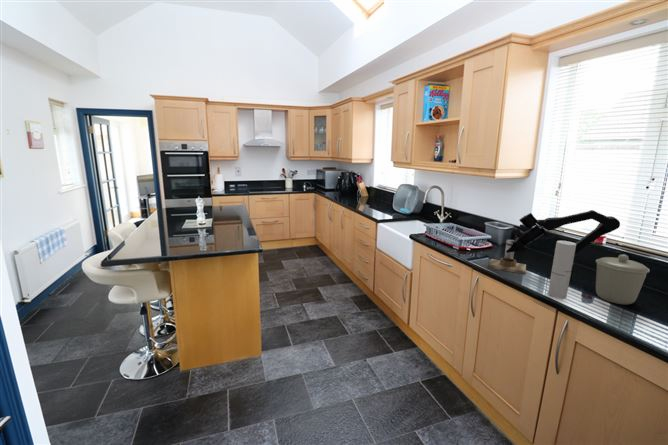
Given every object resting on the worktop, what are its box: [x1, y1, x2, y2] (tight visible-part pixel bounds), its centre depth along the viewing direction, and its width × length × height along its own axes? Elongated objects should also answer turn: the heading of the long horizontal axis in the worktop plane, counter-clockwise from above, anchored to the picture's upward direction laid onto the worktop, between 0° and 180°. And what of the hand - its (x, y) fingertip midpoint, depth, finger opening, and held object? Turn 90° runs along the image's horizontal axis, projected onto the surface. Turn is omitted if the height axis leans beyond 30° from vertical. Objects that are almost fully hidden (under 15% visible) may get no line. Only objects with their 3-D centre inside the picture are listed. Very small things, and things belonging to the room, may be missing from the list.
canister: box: [595, 254, 650, 305], centre depth 145 cm, size 18×18×21 cm
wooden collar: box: [499, 257, 517, 267], centre depth 186 cm, size 8×8×3 cm
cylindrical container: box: [547, 240, 576, 300], centre depth 148 cm, size 7×7×25 cm
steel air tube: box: [503, 239, 515, 262], centre depth 185 cm, size 5×5×14 cm
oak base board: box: [488, 258, 527, 275], centre depth 187 cm, size 18×14×2 cm
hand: (506, 250), depth 185 cm, fingers open, 5 cm apart
